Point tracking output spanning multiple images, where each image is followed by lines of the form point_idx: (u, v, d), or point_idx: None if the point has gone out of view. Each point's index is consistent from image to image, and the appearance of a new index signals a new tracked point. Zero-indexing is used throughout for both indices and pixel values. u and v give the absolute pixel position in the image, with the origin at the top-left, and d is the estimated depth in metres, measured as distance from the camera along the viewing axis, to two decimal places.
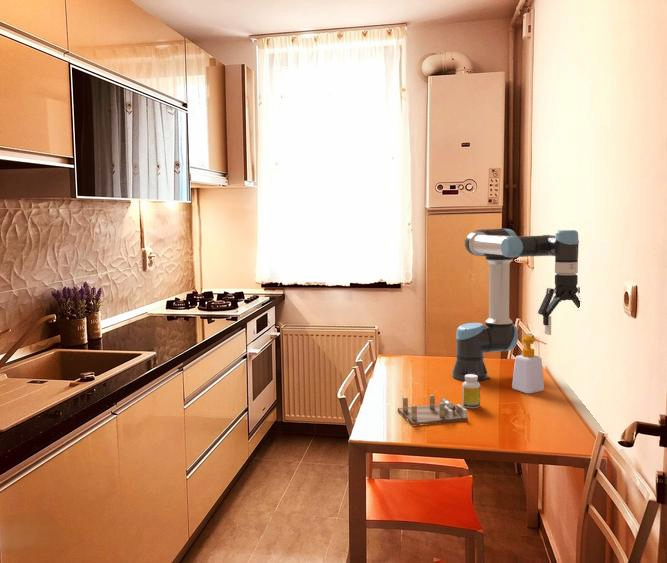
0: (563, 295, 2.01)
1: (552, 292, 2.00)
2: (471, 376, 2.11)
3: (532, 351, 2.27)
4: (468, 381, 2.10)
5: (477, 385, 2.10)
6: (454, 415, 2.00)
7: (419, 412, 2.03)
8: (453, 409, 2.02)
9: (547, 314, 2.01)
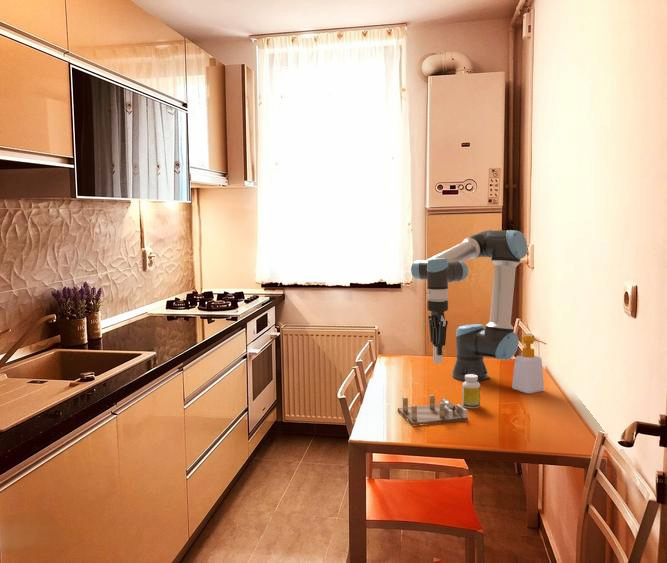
0: (431, 320, 2.12)
1: (429, 319, 2.16)
2: (471, 376, 2.11)
3: (532, 351, 2.27)
4: (468, 381, 2.10)
5: (477, 385, 2.10)
6: (454, 415, 2.00)
7: (419, 412, 2.03)
8: (453, 409, 2.02)
9: (432, 342, 2.14)
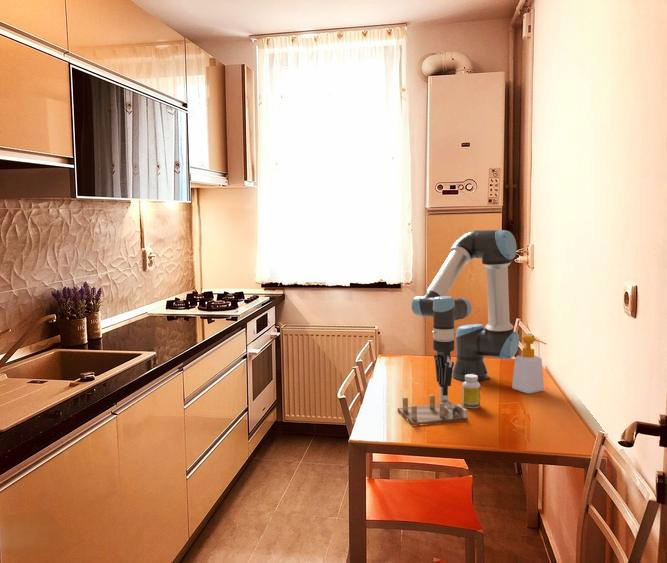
0: (437, 359, 2.08)
1: (435, 358, 2.12)
2: (471, 376, 2.11)
3: (532, 351, 2.27)
4: (468, 381, 2.10)
5: (477, 385, 2.10)
6: (454, 415, 2.00)
7: (419, 412, 2.03)
8: (454, 410, 2.01)
9: None
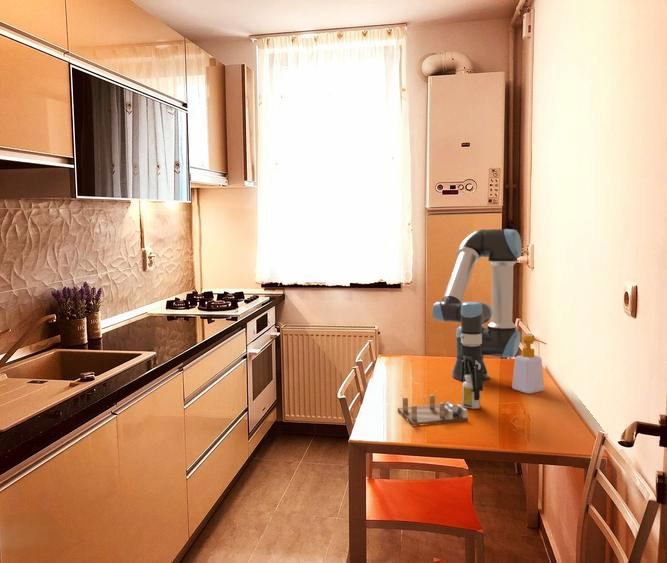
0: (464, 363, 2.13)
1: (461, 360, 2.17)
2: None
3: (532, 351, 2.27)
4: (468, 381, 2.10)
5: None
6: None
7: (419, 412, 2.03)
8: (457, 412, 1.99)
9: (462, 382, 2.17)
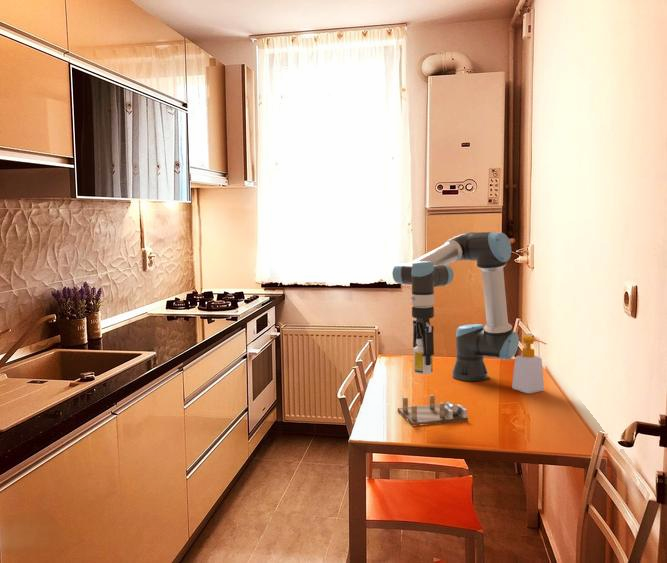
0: (416, 327, 2.00)
1: (413, 324, 2.04)
2: None
3: (532, 351, 2.27)
4: (419, 345, 1.97)
5: None
6: None
7: (419, 412, 2.03)
8: (457, 412, 1.99)
9: None
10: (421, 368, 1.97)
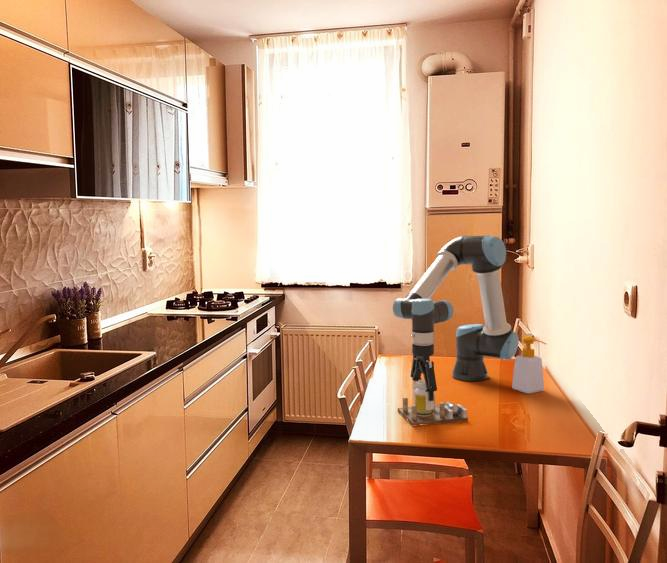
0: (416, 363, 2.01)
1: (413, 357, 2.05)
2: (423, 383, 2.00)
3: (532, 351, 2.27)
4: (420, 388, 1.99)
5: None
6: None
7: None
8: (457, 412, 1.99)
9: (412, 378, 2.07)
10: (421, 411, 1.98)
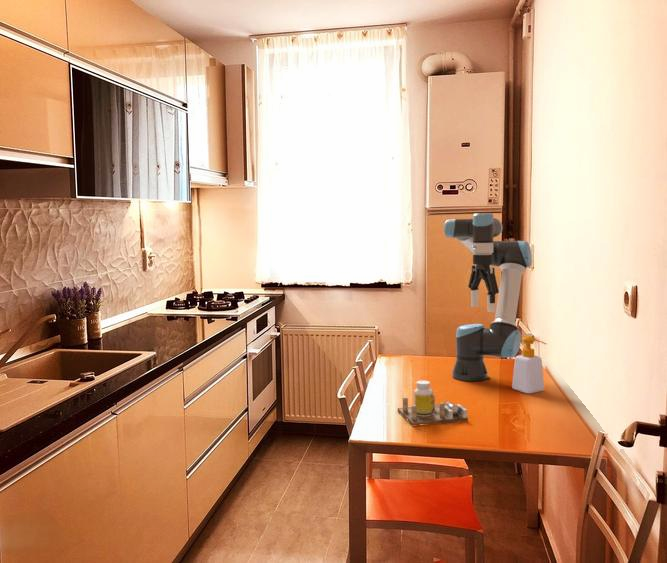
0: (476, 272, 2.20)
1: (472, 269, 2.24)
2: (423, 383, 2.00)
3: (532, 351, 2.27)
4: (420, 388, 1.99)
5: (429, 392, 1.98)
6: None
7: None
8: (457, 412, 1.99)
9: (470, 288, 2.27)
10: (421, 411, 1.98)
